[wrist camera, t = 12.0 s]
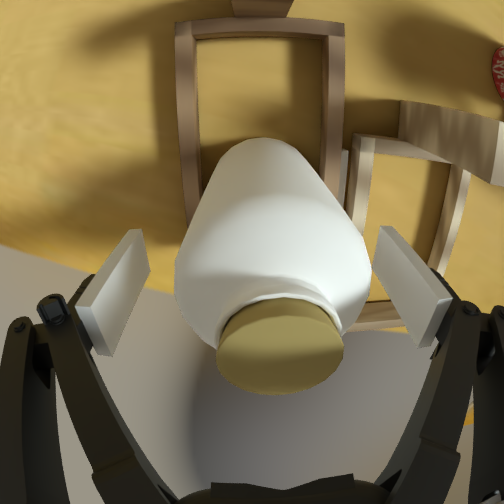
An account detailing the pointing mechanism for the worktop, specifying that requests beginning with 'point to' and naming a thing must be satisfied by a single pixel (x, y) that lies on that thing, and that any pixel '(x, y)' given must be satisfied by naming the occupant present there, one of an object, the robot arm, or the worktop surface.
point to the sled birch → (430, 148)
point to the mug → (499, 70)
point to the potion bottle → (271, 270)
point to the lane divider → (342, 176)
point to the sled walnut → (258, 24)
